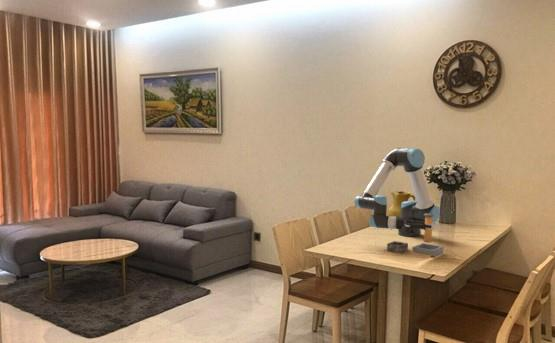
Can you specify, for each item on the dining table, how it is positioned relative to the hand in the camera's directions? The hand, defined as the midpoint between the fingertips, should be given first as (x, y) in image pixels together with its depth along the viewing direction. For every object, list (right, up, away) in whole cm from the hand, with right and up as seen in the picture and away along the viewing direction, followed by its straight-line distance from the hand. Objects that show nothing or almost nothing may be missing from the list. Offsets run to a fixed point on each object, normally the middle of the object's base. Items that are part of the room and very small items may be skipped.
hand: (438, 226), depth 260 cm
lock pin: (-5, -9, +3) cm, 11 cm away
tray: (-5, -16, +4) cm, 17 cm away
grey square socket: (-22, -16, +6) cm, 28 cm away
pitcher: (+3, -9, +91) cm, 91 cm away
